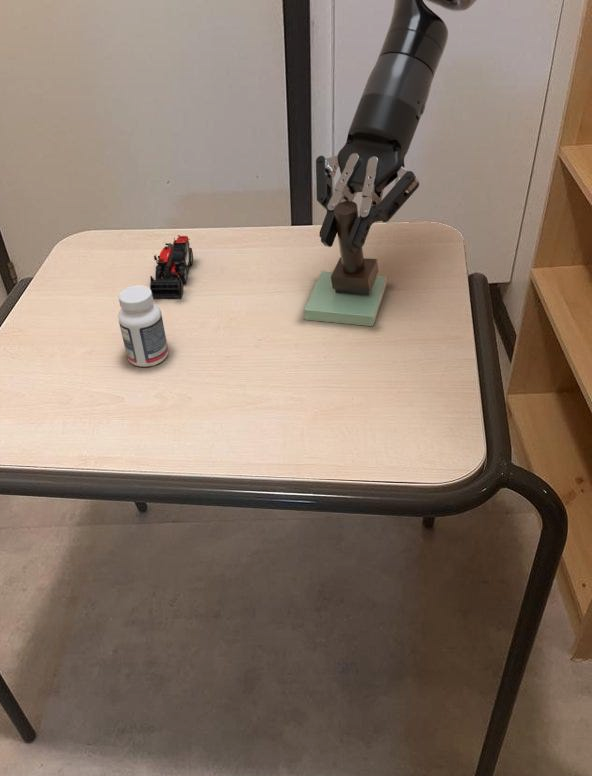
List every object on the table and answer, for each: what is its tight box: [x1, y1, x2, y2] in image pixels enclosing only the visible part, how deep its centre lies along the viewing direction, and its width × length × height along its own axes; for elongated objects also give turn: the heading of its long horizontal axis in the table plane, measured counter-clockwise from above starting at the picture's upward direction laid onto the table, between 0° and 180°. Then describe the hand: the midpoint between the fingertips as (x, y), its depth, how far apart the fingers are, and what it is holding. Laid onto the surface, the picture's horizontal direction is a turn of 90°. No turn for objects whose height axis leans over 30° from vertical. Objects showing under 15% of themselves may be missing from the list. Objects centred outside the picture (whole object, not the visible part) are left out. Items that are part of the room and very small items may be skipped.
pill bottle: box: [117, 285, 169, 368], centre depth 88 cm, size 5×5×9 cm
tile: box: [303, 270, 388, 327], centre depth 96 cm, size 9×10×2 cm
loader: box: [149, 234, 194, 298], centre depth 103 cm, size 12×5×5 cm, turn 172°
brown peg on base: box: [331, 200, 379, 295], centre depth 91 cm, size 5×4×12 cm
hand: (338, 246), depth 88 cm, fingers closed on brown peg on base, 3 cm apart
